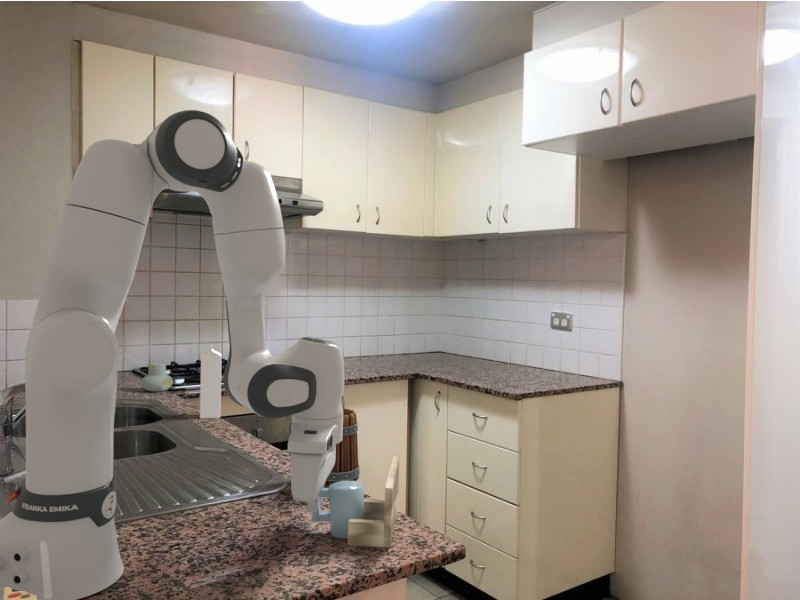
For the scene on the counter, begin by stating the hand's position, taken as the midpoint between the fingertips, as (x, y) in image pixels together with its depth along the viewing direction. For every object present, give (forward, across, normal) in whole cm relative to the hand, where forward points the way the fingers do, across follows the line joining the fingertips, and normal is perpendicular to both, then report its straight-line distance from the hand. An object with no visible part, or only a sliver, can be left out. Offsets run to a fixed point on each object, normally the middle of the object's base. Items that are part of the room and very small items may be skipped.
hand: (314, 508), depth 107 cm
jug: (+4, 0, +4) cm, 6 cm away
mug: (+4, -27, -4) cm, 27 cm away
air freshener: (+4, -111, -82) cm, 138 cm away
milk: (+4, -78, -49) cm, 92 cm away
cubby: (+4, -4, +10) cm, 12 cm away
